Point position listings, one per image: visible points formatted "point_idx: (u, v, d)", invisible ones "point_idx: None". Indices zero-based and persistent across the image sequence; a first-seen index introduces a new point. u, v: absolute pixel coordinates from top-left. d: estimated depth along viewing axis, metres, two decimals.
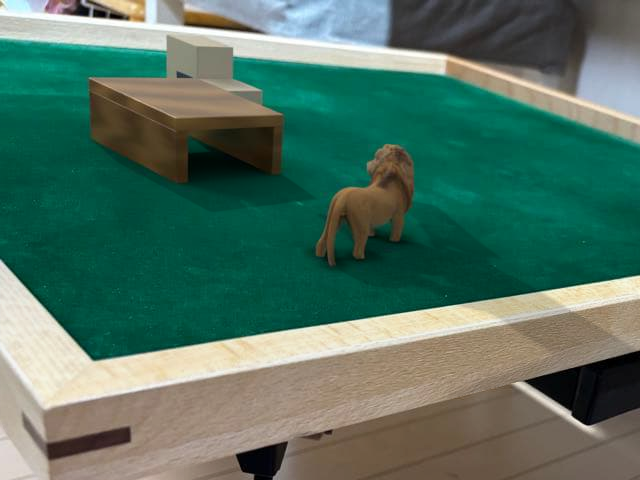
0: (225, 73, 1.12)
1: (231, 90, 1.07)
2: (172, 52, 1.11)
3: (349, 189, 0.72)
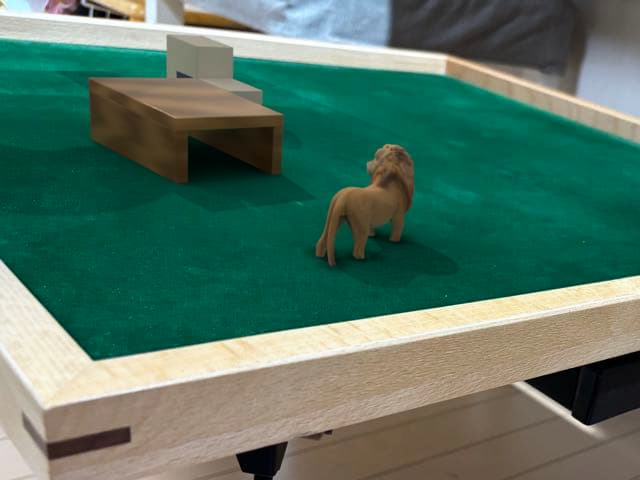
0: (225, 73, 1.12)
1: (231, 90, 1.07)
2: (172, 52, 1.11)
3: (349, 189, 0.72)
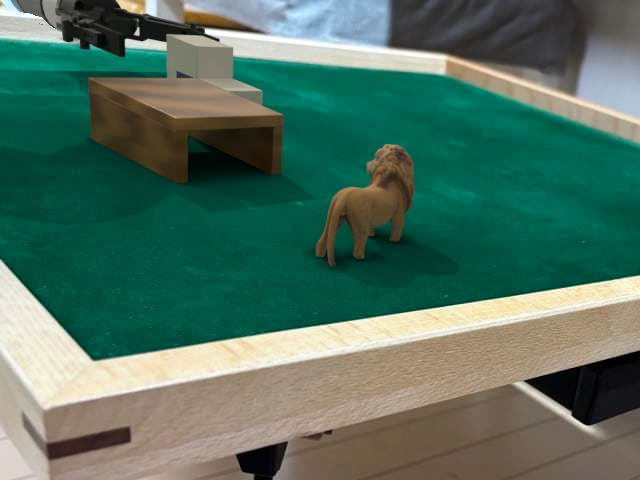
0: (225, 73, 1.12)
1: (231, 90, 1.07)
2: (172, 52, 1.11)
3: (349, 189, 0.72)
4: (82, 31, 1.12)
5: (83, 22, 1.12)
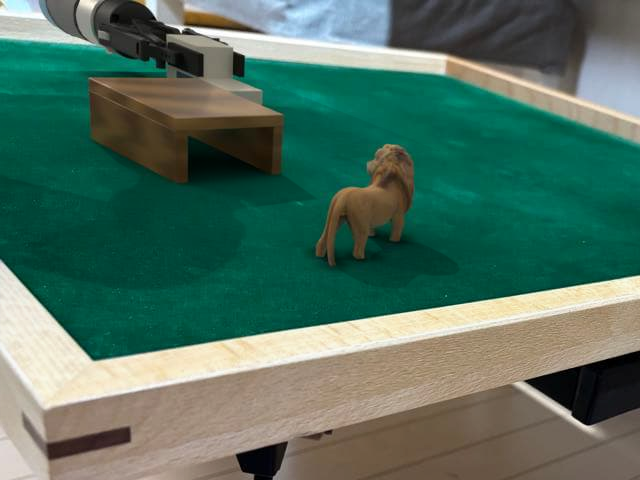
0: (225, 73, 1.12)
1: (231, 90, 1.07)
2: None
3: (349, 189, 0.72)
4: (159, 51, 1.09)
5: (161, 41, 1.09)
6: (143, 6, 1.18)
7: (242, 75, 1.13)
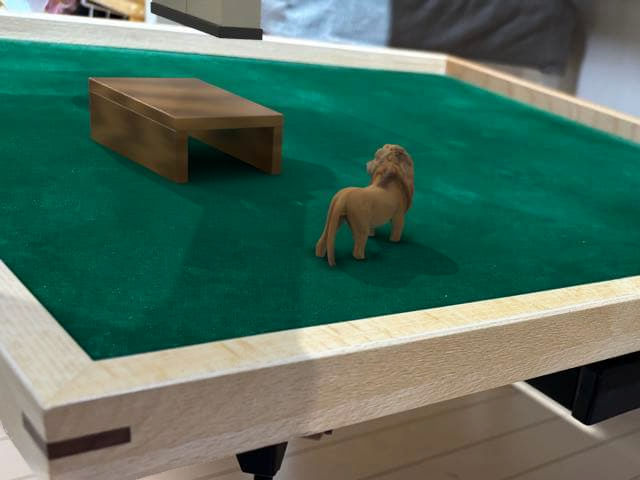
0: None
1: None
2: None
3: (349, 189, 0.72)
4: None
5: None
6: None
7: None
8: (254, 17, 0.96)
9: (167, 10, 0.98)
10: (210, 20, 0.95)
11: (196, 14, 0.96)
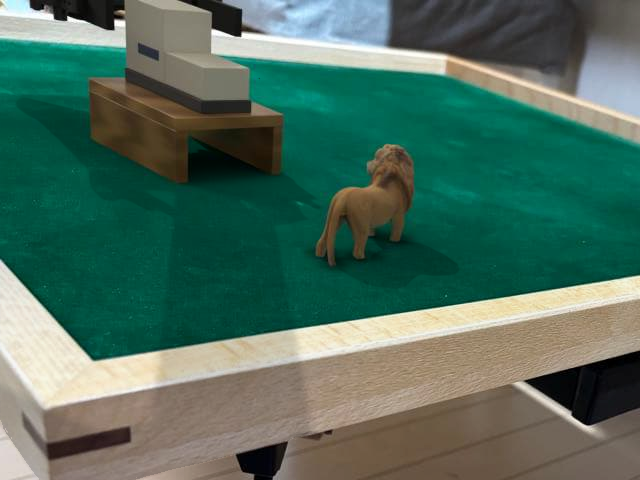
0: (201, 46, 0.86)
1: (208, 67, 0.81)
2: (131, 18, 0.85)
3: (349, 189, 0.72)
4: None
5: None
6: None
7: (239, 34, 0.91)
8: (241, 88, 0.85)
9: (143, 78, 0.86)
10: (191, 93, 0.83)
11: (175, 84, 0.84)
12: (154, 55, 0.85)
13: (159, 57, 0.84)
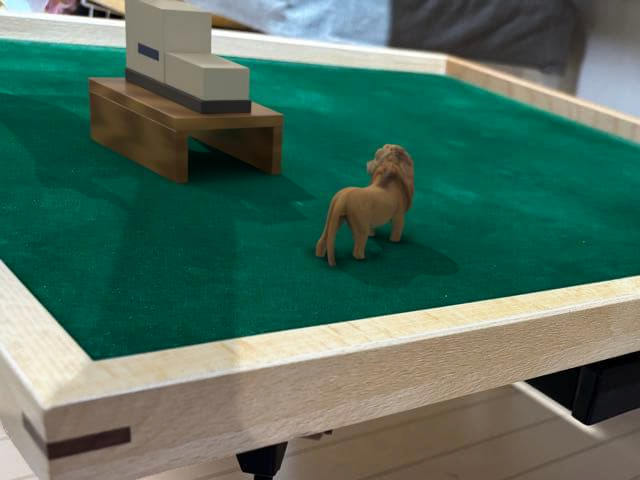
0: (201, 46, 0.86)
1: (208, 67, 0.81)
2: (131, 18, 0.85)
3: (349, 189, 0.72)
4: None
5: None
6: None
7: None
8: (241, 88, 0.85)
9: (143, 78, 0.86)
10: (191, 93, 0.83)
11: (175, 84, 0.84)
12: (154, 55, 0.85)
13: (159, 57, 0.84)
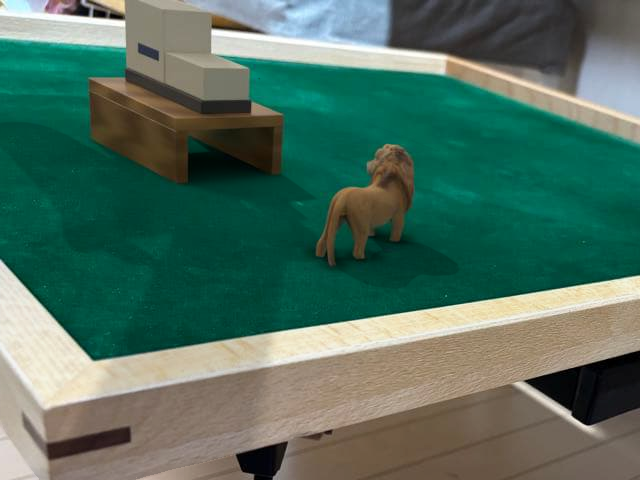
0: (201, 46, 0.86)
1: (208, 67, 0.81)
2: (131, 18, 0.85)
3: (349, 189, 0.72)
4: None
5: None
6: None
7: None
8: (241, 88, 0.85)
9: (143, 78, 0.86)
10: (191, 93, 0.83)
11: (175, 84, 0.84)
12: (154, 55, 0.85)
13: (159, 57, 0.84)
